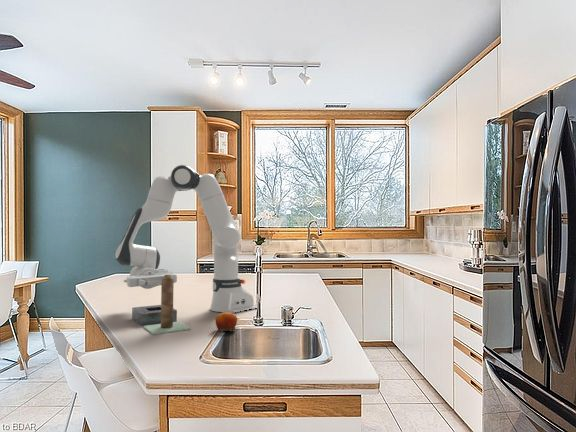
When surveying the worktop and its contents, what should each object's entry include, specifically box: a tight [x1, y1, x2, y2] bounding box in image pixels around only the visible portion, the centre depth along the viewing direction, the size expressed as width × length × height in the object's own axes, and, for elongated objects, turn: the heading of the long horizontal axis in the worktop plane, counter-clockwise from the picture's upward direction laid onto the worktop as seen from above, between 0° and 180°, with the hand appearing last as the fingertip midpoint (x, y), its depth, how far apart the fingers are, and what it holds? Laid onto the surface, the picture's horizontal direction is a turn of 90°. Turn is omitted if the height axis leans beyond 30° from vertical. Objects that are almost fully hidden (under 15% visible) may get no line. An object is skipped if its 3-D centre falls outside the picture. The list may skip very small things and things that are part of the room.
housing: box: [131, 304, 178, 327], centre depth 174 cm, size 14×14×4 cm
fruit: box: [215, 312, 238, 333], centre depth 159 cm, size 8×8×8 cm
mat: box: [143, 321, 191, 336], centre depth 161 cm, size 14×12×1 cm
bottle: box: [160, 275, 175, 328], centre depth 161 cm, size 4×4×20 cm
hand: (157, 282), depth 173 cm, fingers open, 8 cm apart
